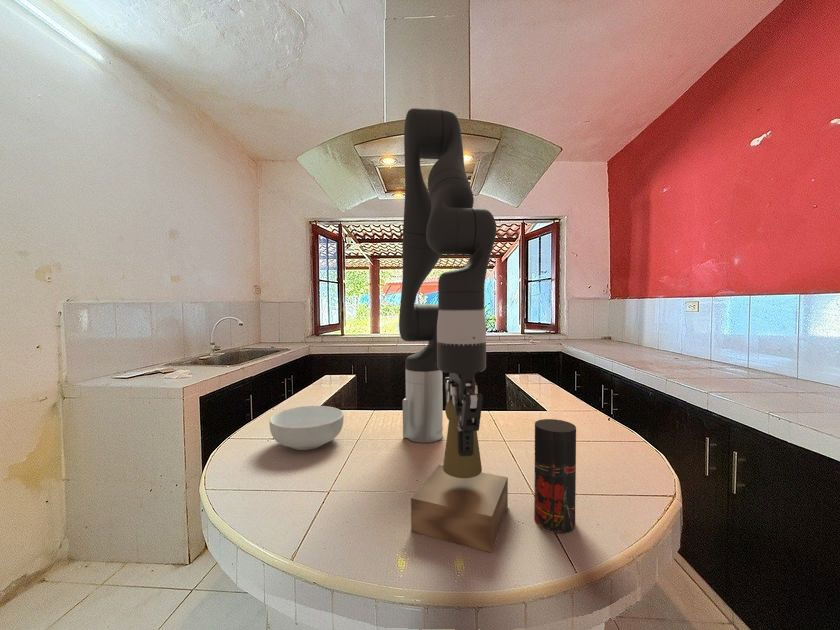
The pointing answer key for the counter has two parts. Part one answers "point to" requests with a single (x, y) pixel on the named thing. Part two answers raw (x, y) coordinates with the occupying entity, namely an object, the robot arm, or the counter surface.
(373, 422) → the counter surface
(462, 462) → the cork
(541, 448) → the deodorant
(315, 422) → the cereal bowl
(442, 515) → the walnut block
